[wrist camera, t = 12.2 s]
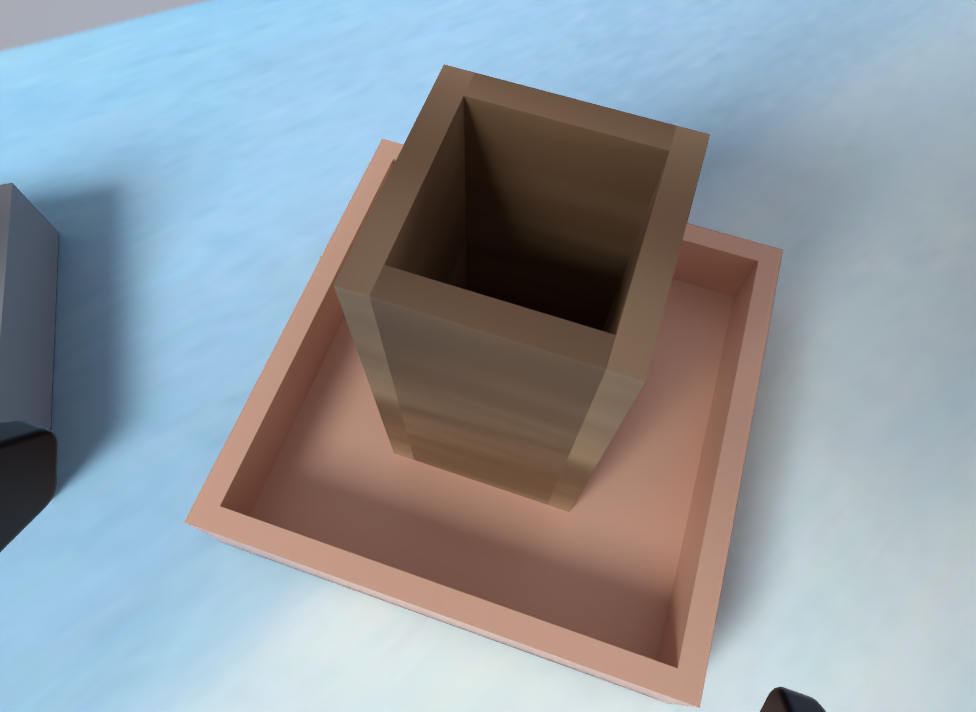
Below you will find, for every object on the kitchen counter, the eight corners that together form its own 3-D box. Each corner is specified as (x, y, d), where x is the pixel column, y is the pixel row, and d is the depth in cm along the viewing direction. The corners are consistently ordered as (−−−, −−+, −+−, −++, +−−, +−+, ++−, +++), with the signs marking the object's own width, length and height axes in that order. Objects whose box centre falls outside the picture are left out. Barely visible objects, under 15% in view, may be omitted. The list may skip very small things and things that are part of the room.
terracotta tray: (668, 703, 17) (699, 707, 15) (221, 542, 18) (184, 522, 16) (749, 295, 22) (782, 249, 20) (391, 193, 23) (382, 138, 21)
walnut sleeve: (569, 512, 18) (645, 381, 10) (393, 453, 19) (333, 284, 11) (624, 317, 21) (721, 86, 13) (468, 270, 21) (465, 21, 13)
